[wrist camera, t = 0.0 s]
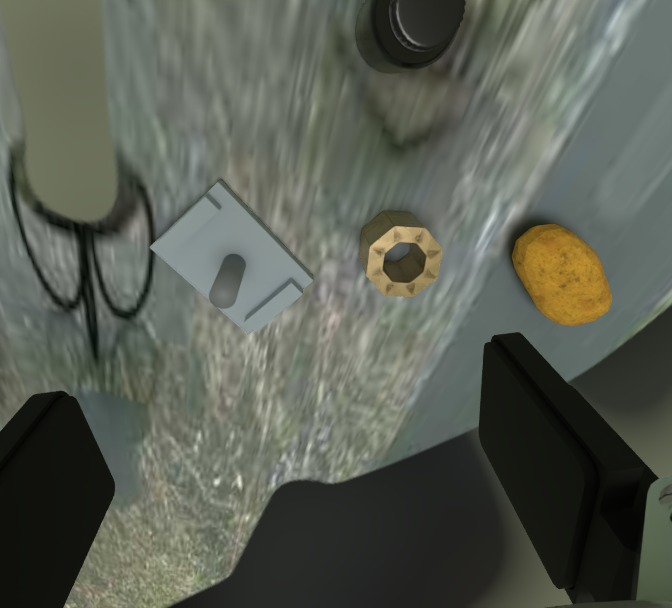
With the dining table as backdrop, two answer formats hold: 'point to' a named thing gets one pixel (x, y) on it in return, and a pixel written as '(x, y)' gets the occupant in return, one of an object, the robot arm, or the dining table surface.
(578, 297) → the potato
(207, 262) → the shaft stand
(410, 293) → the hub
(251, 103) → the dining table surface
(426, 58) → the supplement bottle
